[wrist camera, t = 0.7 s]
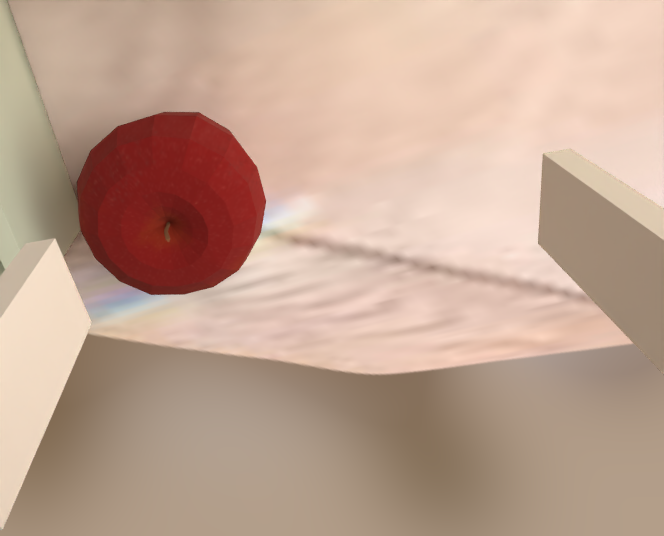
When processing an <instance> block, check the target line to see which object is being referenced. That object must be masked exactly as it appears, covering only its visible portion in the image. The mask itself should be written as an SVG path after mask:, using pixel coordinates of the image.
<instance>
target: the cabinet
mask: <svg viewBox="0 0 664 536" xmlns="http://www.w3.org/2000/svg"><path fill="white" fill-rule="evenodd" d="M79 232H80V223H79V215H78V201H77V198H76V195H75V192H74V190H73V187H72V184H71V181H70V178H69V175H68V172H67V170H66V167H65V164H64V161H63V158H62V155H61V153H60V150H59V147H58V144H57V141H56V138H55V135H54V133H53V130H52V127H51V124H50V121H49V118H48V115H47V113H46V110H45V107H44V104H43V101H42V98H41V95H40V93H39V90H38V87H37V84H36V81H35V78H34V76H33V73H32V70H31V67H30V64H29V61H28V58H27V56H26V53H25V50H24V47H23V44H22V41H21V38H20V36H19V33H18V30H17V27H16V24H15V21H14V19H13V16H12V13H11V10H10V7H9V4H8V1H7V0H0V276H1V275H2V273H3V272H4V271H5V270H6V268H7V267H8V266H9V264H10V263H11V262H12V260H13V259H14V258H15V257H16V255H17V254H18V253H19V251H20V250H21V249H22V247H23V246H24V245H25V244H26V243H30V242H36V241H42V240H48V239H53V238H55V239H56V241H57V244H58V246H59V248H60V251H61V253H62V255H63V257H64V255H65V254H66V252H67V251H68V249H69V248H70V246H71V244H72V243H73V241H74V240H75V238H76V236H77V235H78V233H79Z"/></svg>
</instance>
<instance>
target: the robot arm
mask: <svg viewBox="0 0 664 536" xmlns="http://www.w3.org/2000/svg"><path fill="white" fill-rule="evenodd" d="M538 244H539V245H540V246H541V247H542V248H543V249H544V250H545V251H546V252H547V253H548V254H549V255H550V256H551V257H552V258H553V259H554V260H555V262H556V263H557V264H558V265H559V266H560V267H561V268H562V269H563V270H564V271H565V272H566V273H567V274H568V275H569V276H570V277H571V278H572V279H573V280H574V281H575V282H576V283H577V285H578V286H579V287H580V288H581V289H582V290H583V291H584V292H585V293H586V294H587V295H588V296H589V297H590V298H591V299H592V300H593V301H594V302H595V303H596V304H597V305H598V306H599V308H600V309H601V310H602V311H603V312H604V313H605V314H606V315H607V316H608V317H609V318H610V319H611V320H612V321H613V322H614V323H615V324H616V325H617V326H618V327H619V328H620V329H621V331H622V332H623V333H624V334H625V335H626V336H627V337H628V338H629V339H630V340H631V341H632V342H633V343H634V344H635V345H636V346H637V347H638V348H639V349H640V350H641V351H642V352H643V353H644V355H645V356H646V357H647V358H648V359H649V360H650V361H651V362H652V363H653V364H654V365H655V366H656V367H657V368H658V369H659V370H660V371H661V372H662V373H663V374H664V208H662V207H661V206H659V205H658V204H656V203H655V202H653V201H651V200H650V199H648V198H647V197H645V196H644V195H642V194H640V193H639V192H637V191H636V190H634V189H633V188H631V187H630V186H628V185H626V184H625V183H623V182H622V181H620V180H619V179H617V178H615V177H614V176H612V175H611V174H609V173H608V172H606V171H604V170H603V169H601V168H600V167H598V166H597V165H595V164H594V163H592V162H590V161H589V160H587V159H586V158H584V157H583V156H581V155H579V154H578V153H576V152H575V151H573V150H572V149H566V150H561V151H555V152H549V153H543V161H542V179H541V198H540V216H539V234H538ZM91 324H92V322H91V320H90V318H89V316H88V313H87V311H86V309H85V306H84V304H83V302H82V299H81V297H80V295H79V292H78V290H77V288H76V285H75V283H74V281H73V278H72V276H71V274H70V271H69V269H68V267H67V265H66V262H65V260H64V258H63V255H62V253H61V251H60V248H59V246H58V244H57V241H56V239H55V238H53V239H48V240H42V241H36V242H30V243H26V244H25V245H24V246H23V247H22V249H21V250H20V251H19V253H18V254H17V255H16V257H15V258H14V259H13V260H12V262H11V263H10V264H9V266H8V267H7V268H6V270H5V271H4V272H3V273H2V275H1V276H0V530H3V527H4V525H5V523H6V520H7V518H8V516H9V513H10V511H11V509H12V507H13V504H14V502H15V500H16V497H17V495H18V493H19V490H20V488H21V486H22V483H23V481H24V479H25V477H26V474H27V472H28V469H29V467H30V465H31V462H32V460H33V458H34V456H35V453H36V451H37V449H38V446H39V444H40V442H41V439H42V437H43V435H44V432H45V430H46V428H47V425H48V423H49V421H50V419H51V416H52V414H53V412H54V409H55V407H56V405H57V403H58V400H59V398H60V396H61V393H62V391H63V388H64V386H65V384H66V382H67V379H68V377H69V375H70V372H71V370H72V368H73V365H74V363H75V361H76V358H77V356H78V354H79V352H80V349H81V347H82V345H83V342H84V340H85V338H86V335H87V333H88V331H89V329H90V326H91Z"/></svg>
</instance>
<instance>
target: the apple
mask: <svg viewBox="0 0 664 536" xmlns="http://www.w3.org/2000/svg"><path fill="white" fill-rule="evenodd" d="M77 194H78V215H79V223H80V230H81V232H82V234H83V235H84V237H85V239H86V241H87V243H88V245H89V247H90V249H91V251H92V253H93V255H94V257H95V258H96V259H97V260H98V261H99V262H100V263H101V264H102V265H103V266H104V267H105V268H106V269H107V270H108V271H110V272H111V273H112V274H113V275H114V276H115V277H116V278H117V279H118V280H119V281H121V282H123V283H125V284H128V285H130V286H132V287H134V288H137V289H139V290H141V291H144V292H146V293H148V294H151V295H167V294H187V293H191V292H195V291H199V290H203V289H207V288H211V287H214V286H215V285H217V284H218V283H220V282H221V281H223V280H224V279H226V278H228V277H229V276H231V275H232V274H234V273H235V272H237V271H238V270H239V269H240V267H241V266H242V265H243V263H244V262H245V260H246V259H247V257H248V255H249V253H250V252H251V250H252V248H253V246H254V244H255V242H256V241H257V239H258V237H259V235H260V233H261V228H262V222H263V216H264V210H265V204H266V199H265V195H264V192H263V188H262V184H261V180H260V176H259V173H258V169H257V167H256V165H255V164H254V163H253V161H252V160H251V159H250V157H249V156H248V155H247V153H246V152H245V151H244V149H243V148H242V147H241V145H240V144H239V143H238V141H237V140H236V139H235V137H234V136H233V135H232V133H231V132H230V131H229V130H228V129H226V128H225V127H223V126H221V125H219V124H218V123H216V122H214V121H213V120H211V119H209V118H207V117H206V116H204V115H202V114H201V113H199V112H163V113H159V114H156V115H153V116H150V117H146V118H143V119H140V120H137V121H134V122H130V123H127V124H124V125H121V126H118V127H116V128H115V129H114V130H113V131H112V132H111V133H110V134H109V135H108V136H106V137H105V138H104V139H103V140H102V141H101V142H100V143H99V144H98V145H96V146H95V147H94V148H93V149H92V150H91V151H90V153H89V156H88V158H87V160H86V162H85V165H84V167H83V169H82V172H81V174H80V176H79V179H78V181H77Z"/></svg>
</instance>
